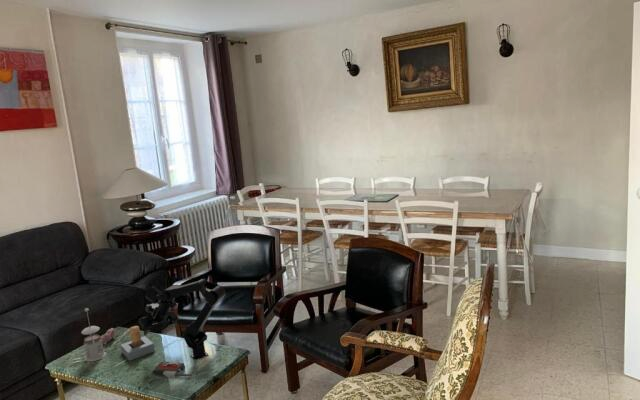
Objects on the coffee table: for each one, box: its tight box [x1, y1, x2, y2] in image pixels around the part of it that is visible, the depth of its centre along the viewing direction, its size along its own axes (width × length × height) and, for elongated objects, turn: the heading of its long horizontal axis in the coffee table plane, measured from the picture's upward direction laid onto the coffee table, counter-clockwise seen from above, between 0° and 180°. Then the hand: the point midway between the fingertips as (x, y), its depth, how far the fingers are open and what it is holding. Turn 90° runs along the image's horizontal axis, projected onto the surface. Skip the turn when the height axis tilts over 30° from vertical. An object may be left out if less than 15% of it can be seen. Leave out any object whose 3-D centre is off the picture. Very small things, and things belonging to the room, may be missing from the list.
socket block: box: [120, 335, 155, 361], centre depth 234 cm, size 12×12×4 cm
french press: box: [80, 307, 107, 362], centre depth 232 cm, size 10×12×25 cm
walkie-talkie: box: [152, 360, 193, 379], centre depth 211 cm, size 9×4×20 cm
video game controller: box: [101, 327, 117, 345], centre depth 250 cm, size 10×5×7 cm, turn 0°
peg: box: [129, 325, 142, 348], centre depth 233 cm, size 4×4×12 cm
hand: (153, 332), depth 232 cm, fingers open, 9 cm apart
